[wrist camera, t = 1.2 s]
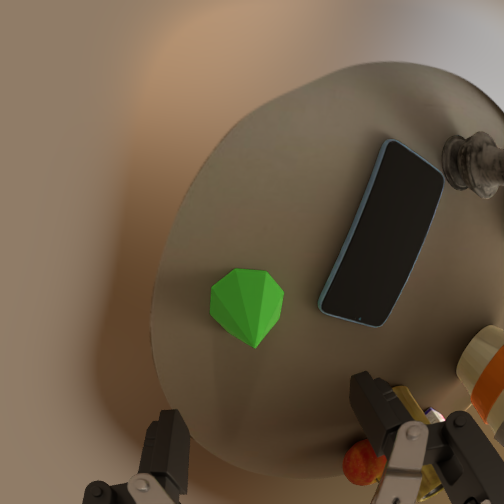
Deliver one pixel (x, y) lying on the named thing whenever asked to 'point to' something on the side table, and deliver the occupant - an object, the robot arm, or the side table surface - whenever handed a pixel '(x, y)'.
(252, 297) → the gemstone
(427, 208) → the smartphone
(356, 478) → the fruit
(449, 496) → the robot arm
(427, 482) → the vase
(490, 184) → the chess piece
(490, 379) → the reusable coffee cup
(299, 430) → the side table surface
